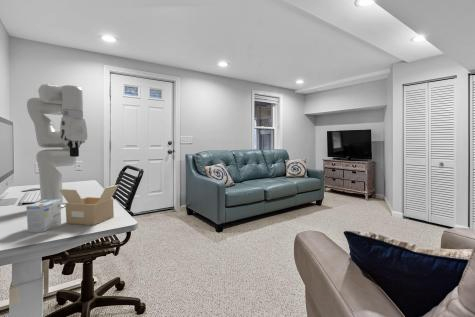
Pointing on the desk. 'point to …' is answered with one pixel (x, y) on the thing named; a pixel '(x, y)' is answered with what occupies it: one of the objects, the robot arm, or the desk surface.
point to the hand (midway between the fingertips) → (74, 156)
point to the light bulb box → (43, 215)
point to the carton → (89, 211)
